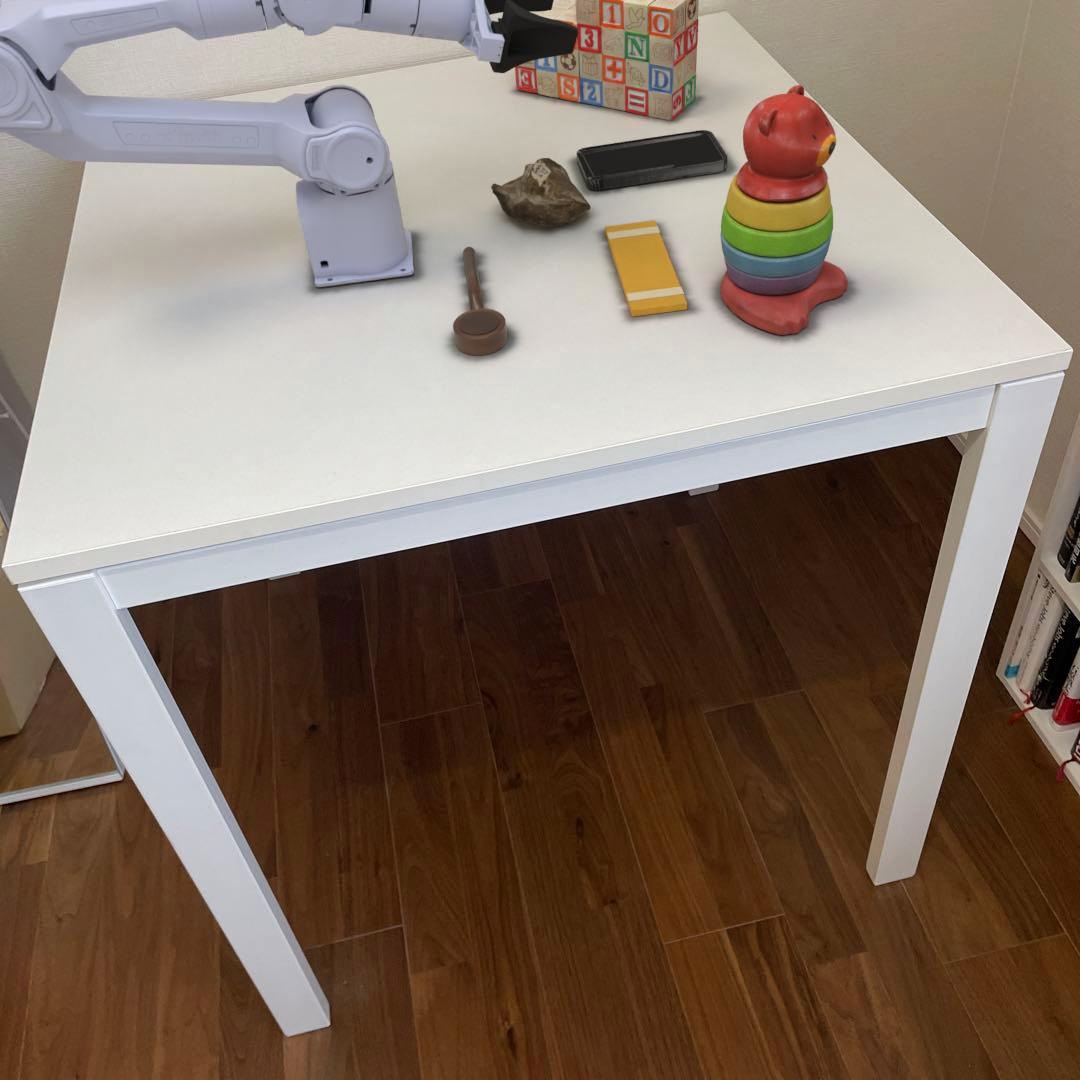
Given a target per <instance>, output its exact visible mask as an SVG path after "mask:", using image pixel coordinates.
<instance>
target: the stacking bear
mask: <svg viewBox="0 0 1080 1080" xmlns="http://www.w3.org/2000/svg"><path fill="white" fill-rule="evenodd" d="M742 142H743V143H742V145H743V146H742V147H743V151H744V154H745V157H746V160H747V161H746V162H744V164H743V165H742V166H741V167H740V169H739V171H738V172H737V173H736V174H735V175H734V177H733V178H732V180H731V182H730V185H729V188H728V191H727V195H726V200H725V203H724V206H723V210H722V215H721V223H720V243H721V251H722V254H723V259H724V264H725V269H726V270H725V273H724V274H723V276H722V280H721V282H720V286H719V287H720V288H719V291H720V292H719V293H720V297H721V299H722V301H723V303H724V304H725V305H726V306H727V308H729V310H730V311H731V312H732V313H733V314H735V315H736V316H737V317H738V318H740V319H741V320H743V321H744V322H746V323H748V324H750V325H752V326H754V327H756V328H757V329H761V330H763V331H765V332H768V333H772V334H774V335H780V336H781V335H782V336H784V335H794V334H797V333H799V332H801V331H802V330H803V329H805V328H807V326H808V325H809V322H810V321H809V320H810V319H809V318H810V317H809V316H810V313H811V312H812V310H813V309H814V308H815V307H817V306H818V305H820V304H821V303H823V302H826V301H831V300H834V299H837V298H839V297H841V296H842V295H843V294H844V293H845V292H846V291H847V290H848V287H849V280H848V277H847V275H846V274H845V271H844V270H843V269H841V268H840V267H839V266H838V265H835V264H833V263H831V262H829V261H827V260H826V257H827V255H828V252H829V248H830V245H831V241H832V236H833V230H834V209H833V205H832V204H833V203H832V197H831V196H832V195H831V190H830V184H829V181H828V178H829V177H828V173H827V171H826V169H825V167H824V165H825V164H826V163H827V162H828V161H829V159H830V158H831V156H832V155H833V153H834V151H835V148H836V145H837V135H836V132H835V129H834V126H833V125H832V122H831V121H830V120H829V118H828V116H827V115H826V113H825V111H824V110H823V109H822V107H821V106H820V104H818V103H817V102H816V101H815V100H814V99H812V98H810V97H808V96H806V95H805V88H804V86H803V85H801V84H797V85H794V86H791V87H790V89H788V91H787V93H779V94H775V95H771V96H769V97H767V98H765V99H762V100H761V101H759V102H758V103H757V104H756V105H755V106H754V107H753V108H752V109H751V111H750V112H749V114H748V115H747V117H746V120H745V122H744V125H743V129H742Z"/></svg>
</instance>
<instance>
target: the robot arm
mask: <svg viewBox="0 0 1080 1080" xmlns="http://www.w3.org/2000/svg"><path fill="white" fill-rule="evenodd" d="M553 2H554V0H1V2H0V133H5V134H8V135H10V136H12V137H13V138H16V139H17V140H20V141H22V142H24V143H26V144H28V145H30V146H33V148H37V149H39V150H41V151H42V152H45V153H47V154H49V155H51V156H52V157H55V158H57V159H60V160H63V161H69V162H85V163H121V164H122V163H123V164H124V163H125V164H127V163H128V164H169V165H170V164H171V165H211V166H212V165H213V166H248V167H249V166H250V167H251V166H254V167H280V168H281V169H283V170H286V171H287V172H289V173H291V174H293V175H294V176H295V177H298V178H299V179H300V180H298V181H296V183H295V197H296V198H295V199H296V206H297V211H298V217H299V222H300V226H301V231H302V235H303V238H304V242H305V246H306V251H307V255H308V258H309V262H310V266H311V269H312V274H313V278H314V286H315V287H316V288H324V287H332V286H339V285H345V284H346V285H347V284H355V283H361V282H362V283H363V282H370V281H378V280H385V279H392V278H393V279H394V278H400V277H407V276H411V275H413V274H414V273H415V268H414V253H413V239H412V238H413V237H412V232H411V231H410V230H405V226H404V221H403V216H402V210H401V205H400V199H399V194H398V188H397V183H396V177H395V171H394V165H393V162H392V160H391V157H390V156H391V152H390V149H389V145H388V143H387V140H386V138H385V137H384V136H383V134H382V133H381V130H380V128H379V125H378V123H377V120H376V118H375V111H374V109H373V106H372V104H371V102H370V101H369V99H368V98H367V96H366V95H365V94H364V93H363V92H362V91H361V90H359V89H357V88H355V87H353V86H351V85H346V84H332V85H329V86H326V87H324V88H322V89H320V90H317V91H315V92H309V93H298V92H297V93H293V94H290V95H288V96H286V97H284V98H282V99H280V100H278V101H276V102H265V101H264V102H263V101H239V100H215V99H194V98H193V99H192V98H190V99H189V98H168V97H167V98H165V97H143V96H142V97H141V96H119V95H118V96H115V95H114V96H113V95H95V94H94V95H91V94H85V93H84V92H83V91H82V90H81V89H80V88H79V87H78V86H77V85H76V84H75V83H74V82H73V81H72V80H71V79H70V78H69V77H68V76H67V74H65V73H64V72H63V71H62V69H61V68H62V67H63V65H64V64H65V63H66V62H67V61H68V60H69V58H70V57H71V56H72V55H73V53H74V52H75V51H76V50H78V49H80V48H83V47H88V46H92V45H97V44H102V43H106V42H112V41H116V40H121V39H127V38H130V37H136V36H141V35H146V34H151V33H155V32H159V31H165V30H169V29H174V28H175V29H178V30H180V31H182V32H184V33H185V34H187V35H188V36H190V37H191V38H193V39H194V40H196V41H204V40H213V39H218V38H225V37H231V36H237V35H243V34H244V35H245V34H250V33H256V32H264V31H269V30H274V29H276V28H278V27H280V26H282V25H285V24H286V25H288V26H289V27H291V28H296V29H297V30H298V31H302V32H303V34H304V36H308V37H309V36H310V37H311V36H317V35H322V34H324V33H326V32H328V31H329V30H332V28H334V27H337V28H338V27H339V28H347V29H356V30H357V31H366V32H373V33H374V32H376V33H384V34H391V35H398V36H399V35H400V36H408V37H413V38H414V37H415V38H425V39H433V40H441V41H450V42H458V44H459V45H460V46H462V47H463V48H466V49H467V50H468V51H470V52H472V53H473V54H474V55H475V57H476V59H477V61H480V62H488V63H489V65H490V67H491V70H492V72H493V73H496V74H506V73H508V72H509V71H511V70H512V69H515V67H517V66H519V65H521V64H524V63H526V62H530V61H533V60H537V59H542V58H547V57H554V56H560V55H566V54H571V53H573V51H574V47H575V43H576V39H577V36H578V29H577V27H575V26H573V25H571V24H568V23H565V22H562V21H558V20H554V19H549V18H545V17H542V16H539V15H536V14H534V13H531V12H541V11H548V10H552V6H553ZM500 13H502V15H501V17H497V21H495V20H492V18H491V15H496V14H500Z"/></svg>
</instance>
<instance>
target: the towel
mask: <svg viewBox="0 0 1080 1080" xmlns="http://www.w3.org/2000/svg"><path fill="white" fill-rule="evenodd" d="M604 234H605V237H606V240H607V244H608V247H609V250H610V252H611V253H610V254H611V256H612V259H613V262H614V266H615V268H616V272H617V274H618V278H619V281H620V284H621V287H622V290H623V293H624V297H625V300H626V302H627V306H628V309H629V312H630V315H631V318H632V317H640V316H648V315H654V314H655V315H657V314H663V313H671V312H678V311H685V310H688V302H687V299H686V295H685V292H684V290H683V289H684V288H683V287H682V286H681V283H680V281H679V278H678V276H677V272H676V270H675V268H674V265H673V262H672V260H671V257H670V255H669V253H668V250H667V248H666V245H665V242H664V240H663V238H662V237H663V236H662V235H661V231H660V228H659V226H658V224H657V222H656V220H655V219H653V220H647V221H646V220H645V221H638V222H630V223H623V224H622V223H621V224H615V225H607V226H604Z"/></svg>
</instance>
